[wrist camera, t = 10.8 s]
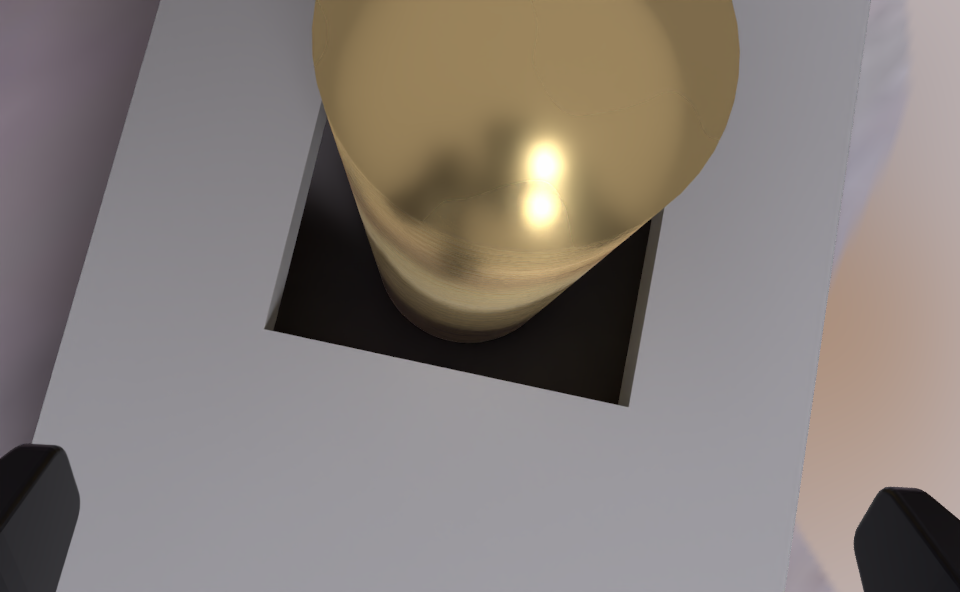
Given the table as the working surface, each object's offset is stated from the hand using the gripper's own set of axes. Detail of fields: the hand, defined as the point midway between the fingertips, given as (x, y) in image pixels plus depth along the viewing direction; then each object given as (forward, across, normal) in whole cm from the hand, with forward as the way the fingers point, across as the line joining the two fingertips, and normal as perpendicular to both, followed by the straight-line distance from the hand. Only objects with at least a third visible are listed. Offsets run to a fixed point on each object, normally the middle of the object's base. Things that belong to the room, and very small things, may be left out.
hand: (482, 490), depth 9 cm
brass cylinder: (+13, 0, +5) cm, 14 cm away
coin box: (+11, 0, +7) cm, 13 cm away
